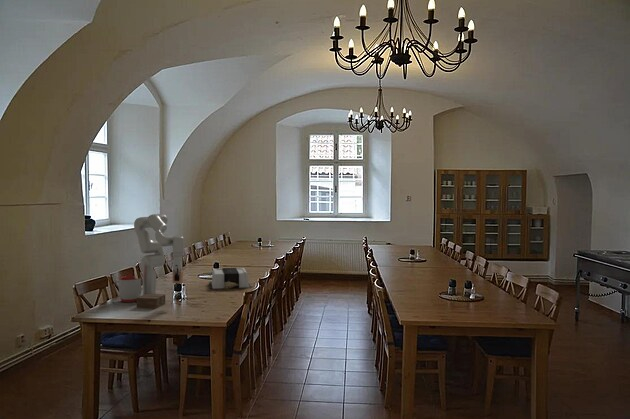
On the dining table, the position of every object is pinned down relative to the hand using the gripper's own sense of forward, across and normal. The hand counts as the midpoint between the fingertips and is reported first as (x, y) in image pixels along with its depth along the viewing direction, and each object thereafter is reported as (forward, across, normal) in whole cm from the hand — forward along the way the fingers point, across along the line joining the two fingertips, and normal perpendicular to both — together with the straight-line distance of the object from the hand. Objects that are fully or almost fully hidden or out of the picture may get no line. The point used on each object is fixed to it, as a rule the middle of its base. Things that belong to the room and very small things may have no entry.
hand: (177, 279), depth 348 cm
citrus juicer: (+19, -13, -36) cm, 42 cm away
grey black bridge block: (+19, -71, +29) cm, 79 cm away
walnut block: (+18, +3, -17) cm, 25 cm away
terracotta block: (+2, 0, 0) cm, 2 cm away
